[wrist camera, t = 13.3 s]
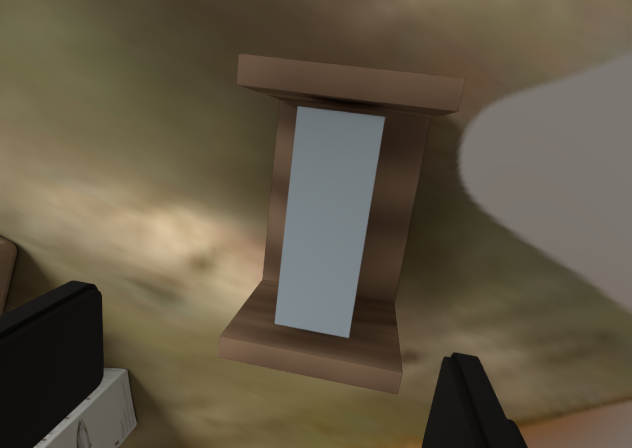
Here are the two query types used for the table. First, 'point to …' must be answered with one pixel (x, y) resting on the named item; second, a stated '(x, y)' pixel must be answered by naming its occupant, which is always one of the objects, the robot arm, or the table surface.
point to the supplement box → (97, 417)
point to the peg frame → (382, 229)
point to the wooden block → (6, 268)
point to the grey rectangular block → (327, 218)
